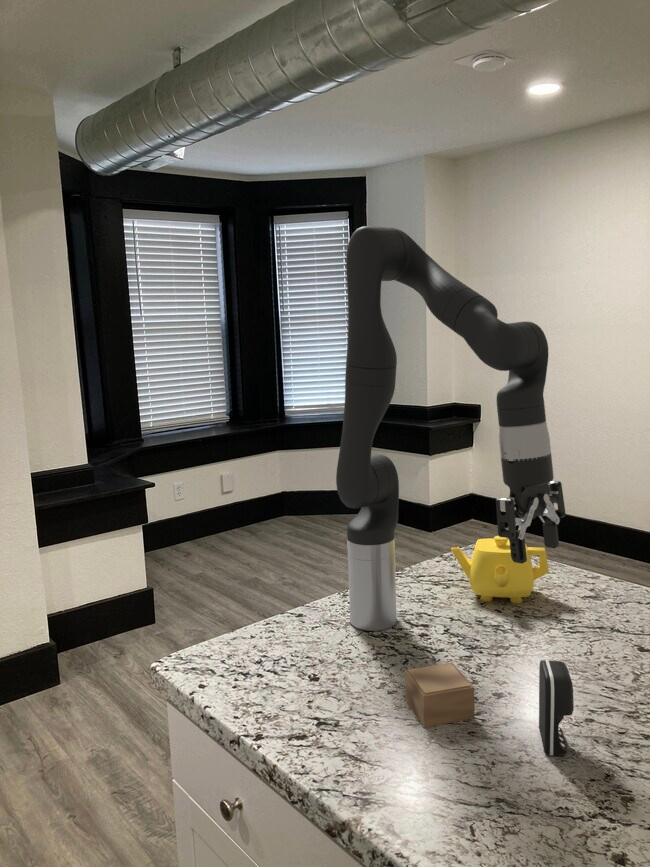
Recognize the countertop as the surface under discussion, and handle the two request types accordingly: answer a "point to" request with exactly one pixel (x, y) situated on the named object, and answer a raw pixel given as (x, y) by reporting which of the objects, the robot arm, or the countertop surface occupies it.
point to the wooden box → (439, 694)
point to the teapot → (501, 569)
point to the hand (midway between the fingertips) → (536, 554)
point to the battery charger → (554, 705)
